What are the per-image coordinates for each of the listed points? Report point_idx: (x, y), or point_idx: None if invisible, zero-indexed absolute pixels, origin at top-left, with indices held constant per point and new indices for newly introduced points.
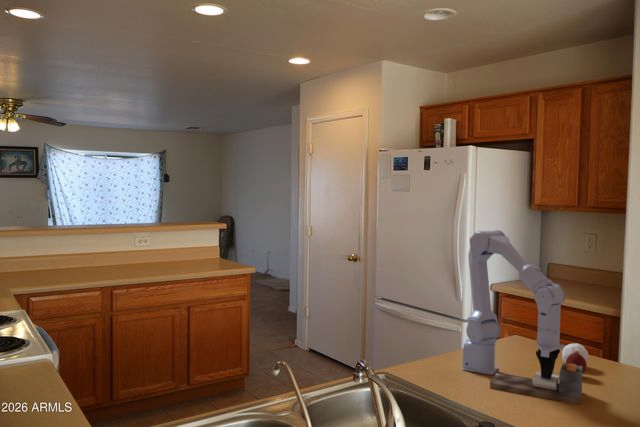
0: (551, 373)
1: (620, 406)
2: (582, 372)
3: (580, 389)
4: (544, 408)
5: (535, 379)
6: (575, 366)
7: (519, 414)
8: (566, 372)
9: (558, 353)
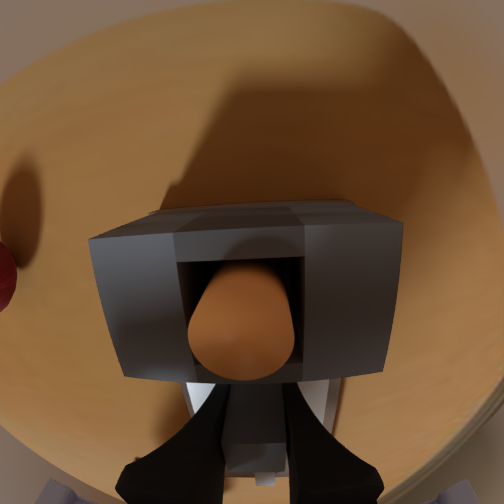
0: (303, 397)
1: (250, 36)
2: (1, 243)
3: (271, 206)
4: (440, 313)
5: (322, 418)
6: (269, 298)
7: (488, 350)
8: (369, 334)
9: (192, 483)
